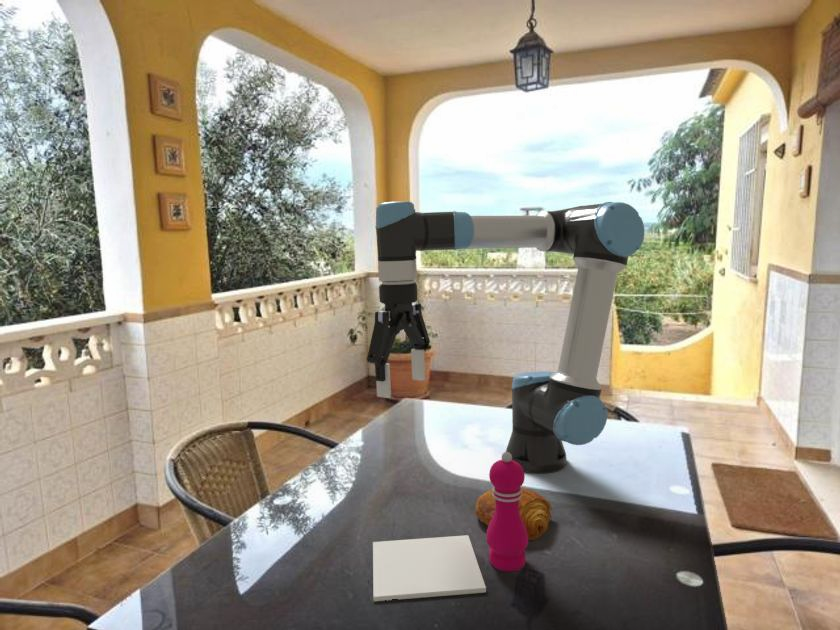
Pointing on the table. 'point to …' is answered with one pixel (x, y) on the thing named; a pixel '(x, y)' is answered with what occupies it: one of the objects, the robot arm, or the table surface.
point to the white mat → (425, 568)
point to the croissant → (520, 511)
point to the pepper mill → (507, 516)
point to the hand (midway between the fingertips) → (402, 388)
